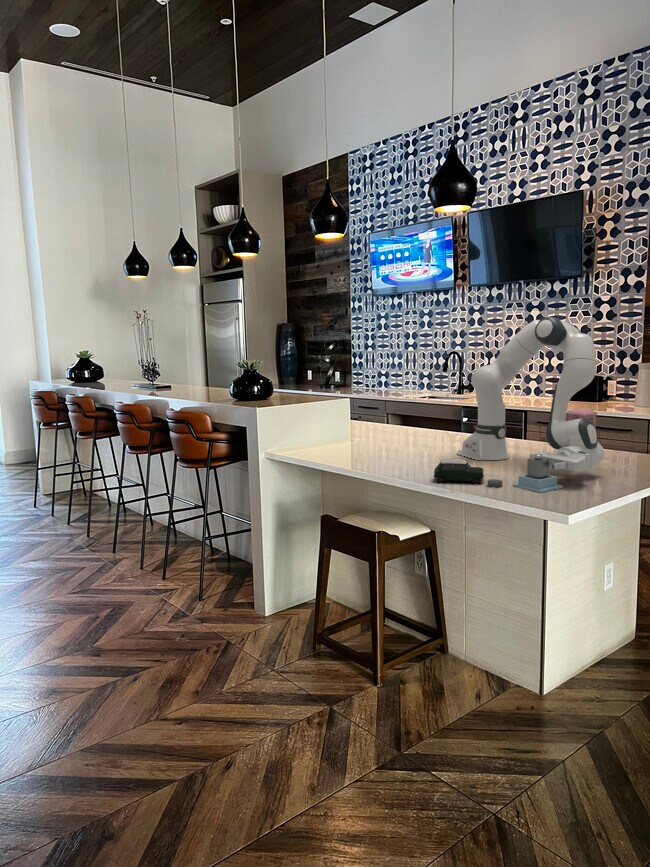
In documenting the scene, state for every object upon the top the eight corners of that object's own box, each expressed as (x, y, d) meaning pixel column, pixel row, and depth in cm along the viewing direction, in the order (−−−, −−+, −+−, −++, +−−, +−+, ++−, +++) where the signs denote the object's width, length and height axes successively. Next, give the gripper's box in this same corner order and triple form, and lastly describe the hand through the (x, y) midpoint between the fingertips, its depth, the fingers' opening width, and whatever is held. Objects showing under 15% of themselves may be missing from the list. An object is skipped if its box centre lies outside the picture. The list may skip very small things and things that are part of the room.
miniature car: (484, 485, 229) (484, 463, 227) (432, 483, 233) (432, 461, 232) (484, 479, 237) (484, 458, 236) (434, 478, 241) (434, 456, 240)
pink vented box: (577, 452, 282) (579, 406, 279) (596, 455, 274) (598, 408, 271) (563, 455, 277) (565, 408, 274) (583, 458, 269) (585, 410, 266)
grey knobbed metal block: (526, 484, 224) (527, 454, 223) (536, 482, 227) (537, 452, 225) (538, 487, 220) (539, 456, 218) (548, 485, 223) (549, 454, 221)
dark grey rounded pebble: (484, 486, 227) (484, 480, 227) (494, 484, 230) (494, 478, 230) (495, 489, 223) (495, 483, 223) (505, 486, 226) (505, 481, 226)
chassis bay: (512, 486, 226) (513, 475, 225) (534, 481, 231) (534, 471, 231) (541, 493, 216) (541, 481, 215) (562, 488, 221) (563, 477, 221)
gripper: (544, 446, 239) (518, 450, 232) (593, 454, 222) (567, 459, 215) (544, 463, 240) (518, 468, 233) (593, 472, 223) (566, 478, 216)
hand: (542, 464), depth 224 cm, fingers open, 8 cm apart
